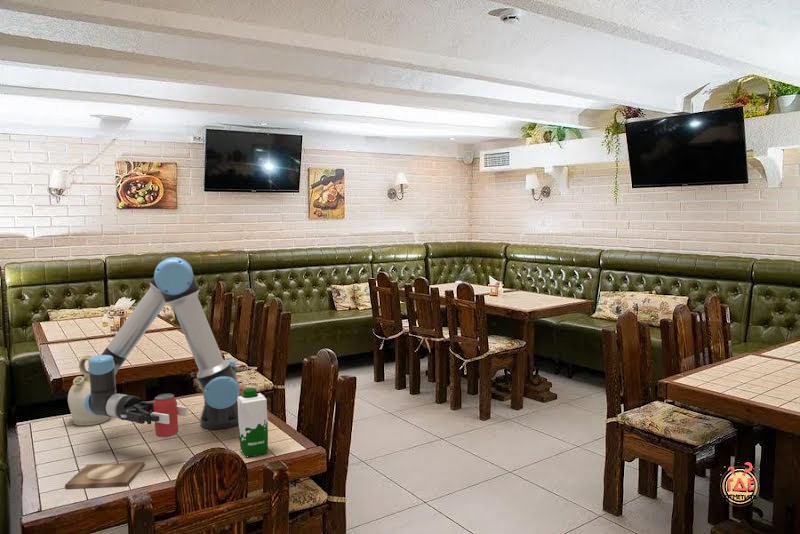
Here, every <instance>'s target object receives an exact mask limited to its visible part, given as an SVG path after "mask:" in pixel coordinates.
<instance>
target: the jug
mask: <svg viewBox="0 0 800 534" xmlns="http://www.w3.org/2000/svg"><path fill="white" fill-rule="evenodd" d="M92 357H93V356H91V355H85V356H83V357H81V358H80V360H79V363H78V368H79V371H80V373H81V374H82V375H83V376H82V375H79V376H76V377H75V378H74V379H73V380H72V385H71V387H70V388H69V391H68V394H67V403H68V408H69V411H70V415H71V419H72V421H73V424H74V425H76V426H81V427H85V426H87V427H88V426H95V425H100V424H102V423H104V422H107V421H108V420H110V418H111V417H109V416H100V415H95V414H93V413H90V412H88V411H87V410H86V408H85V405H84V403H85V400H86V397H87V395H88V394H89V393H91V388H90V378H89V371H88V369H86V366H85V365H86V361H89V359H90V358H92Z"/></svg>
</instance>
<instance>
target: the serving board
mask: <svg viewBox="0 0 800 534" xmlns="http://www.w3.org/2000/svg"><path fill="white" fill-rule="evenodd" d="M143 468H145V461H138V462H137V461H136V462H133V461H131V462H113V463H112V462H111V463H91V464H90V463H88V464H86V465H85V466H83V468H82V469H81V470H80V471H78V472H77V473H76V474H75V475H74V476H73V477H72V478H71V479H70V480H68V481H67V482H66V483H65V484H64V487H65V488H64V489H65V490H70V489H71V490H72V489H90V488H95V489H96V488H112V487H114V488H115V487H117V488H118V487H128V485H130V483H131V482H132V481H133V480H134V479H135V477H136V476H137V475H138V474H139V473H140V472H141V471H142V469H143ZM140 470H141V471H140Z"/></svg>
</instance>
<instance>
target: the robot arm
mask: <svg viewBox="0 0 800 534" xmlns="http://www.w3.org/2000/svg"><path fill="white" fill-rule="evenodd" d="M149 285H150V287H149V289H148V290H147V291H146V293H145V294H144V295H143V297H142V298H141V300H140V301H139V302H138V304H136V306H135V308H134V309H133V310H132V312H131V313H130V314H129V316H128V317H127V318H126V320H125V321H124V323H123V324H122V326H121V327H120V328H119V329H118V331H117V332H116V333H115V335H114V336H113V338H112V339H111V341H110V342H109V343H108V345H107V346H106V348H105V349H104V350H103V352H102V353H101V354H99V355H94V356H92V358H90V359H89V361H88V360H87V361H88V368H87V371H88V372H89V378H90V388H91V393H89V394H88V395H87V397H86V400H85V403H84V405H85V408H86V410H87V411H88V412H90V413H93V414H95V415H100V416H109V417H110V418H115V419H118V420H121V421H128V422H133V423H137V424H140V425H142V424H145V422H146V425H152V422H153V423H155V422H158V423H164V424H169V423H170V421H169V415H168V414H162V413H156V412H154V407H153V405H154V401H155V398H154V399H152V400H153V401H143V400H142V399H141V397H138V396H135V395H128V394H124V393H117V385H116V384H117V383H116V375H117V372H118V371H119V369H120V368H121V367H122V365H123V364H124V363H125V361H126V360H127V358H128V357H129V355H130V354H131V353H132V352H133V350H134V349H135V347H136V346H137V344H138V343H139V342H140V340H141V339H142V338H143V337H144V335H145V333H146V332H147V330H148V329H150V327H151V325H152V324H153V322H154V321H155V319H156V318H157V317H158V316H159V314H160V313H161V311H162V310H163V308H164V307H165V306H166V305H170V306H171V307H172V309H173V311H174V313H175V316H176V318H177V321H178V323H179V326H180V328H181V330H182V333H183V335H184V338H185V339H186V341H187V344H188V348H189V349H190V352H191V354H192V356H193V359H194V360H195V365H196V366H197V368H198V372H197V373H196V378H197V381H198V383H199V385H200V389H201V391H202V395H203V401H204V404H203V409H202V411H201V415H200V418H199V419H200V420H199V423H200V426H201V427H202V428H204V429H208V430H223V429H228V427H229V428H232V426H233V427H235V425H236V426H239V424H238V396H240V390H241V389H240V384H239V382H238V378H237V365H236V364H237V363H236V361H235V360H232V359H231V360H230V359H224V358H223V355H222V353H221V350H220V348H219V345H218V343H217V341H216V338H215V336H214V333H213V331H212V328H211V326H210V323H209V322H208V319H207V316H206V314H205V311H204V309H203V307H202V304H201V301H200V300H199V297H198V296H199V295H198V294H199V292H200V291H201V290H200V289H201V288H200V287H199V285H198V281H197V279H196V277H195V275H194V270H193V266H192V265H191V263H190V261H188V260H187V259H186V258H184V257H183V256H179V255H172V256H168V257H165V258H164V259H163V260H161V262H159V263H158V264H157V266H156V267H155V269H154V272H153V277H152V279H151V281H150V282H149ZM176 404H177V416H181V417H182V416H183V417H188V416H189V412H188V411H189V410H188V407H187V406H182V405H178V402H177V401H176Z"/></svg>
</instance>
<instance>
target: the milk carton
mask: <svg viewBox="0 0 800 534" xmlns="http://www.w3.org/2000/svg"><path fill="white" fill-rule="evenodd" d="M267 400H268V399H267V398H266V397H265V395H264V394H262V393H261V392H258V393H257V388H254V387H252V388H251V387H249V388H245V389H244V390H243V394H242V395H239V396H238V399H237V401H238V440H239V446H240V451H241V450H242V451H241V453H242V452H243V453H244V454H243V453H242V454H243V456H244V455H245V456H246V457H247V456H253V457H255V456H254V455H258V456H260V455H259V454H263V455H267V454H266V453H269V451H268V449H269V428H268V427H269V426H268V403H267V402H268V401H267ZM245 456H244V457H245ZM246 457H245V458H246Z"/></svg>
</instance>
